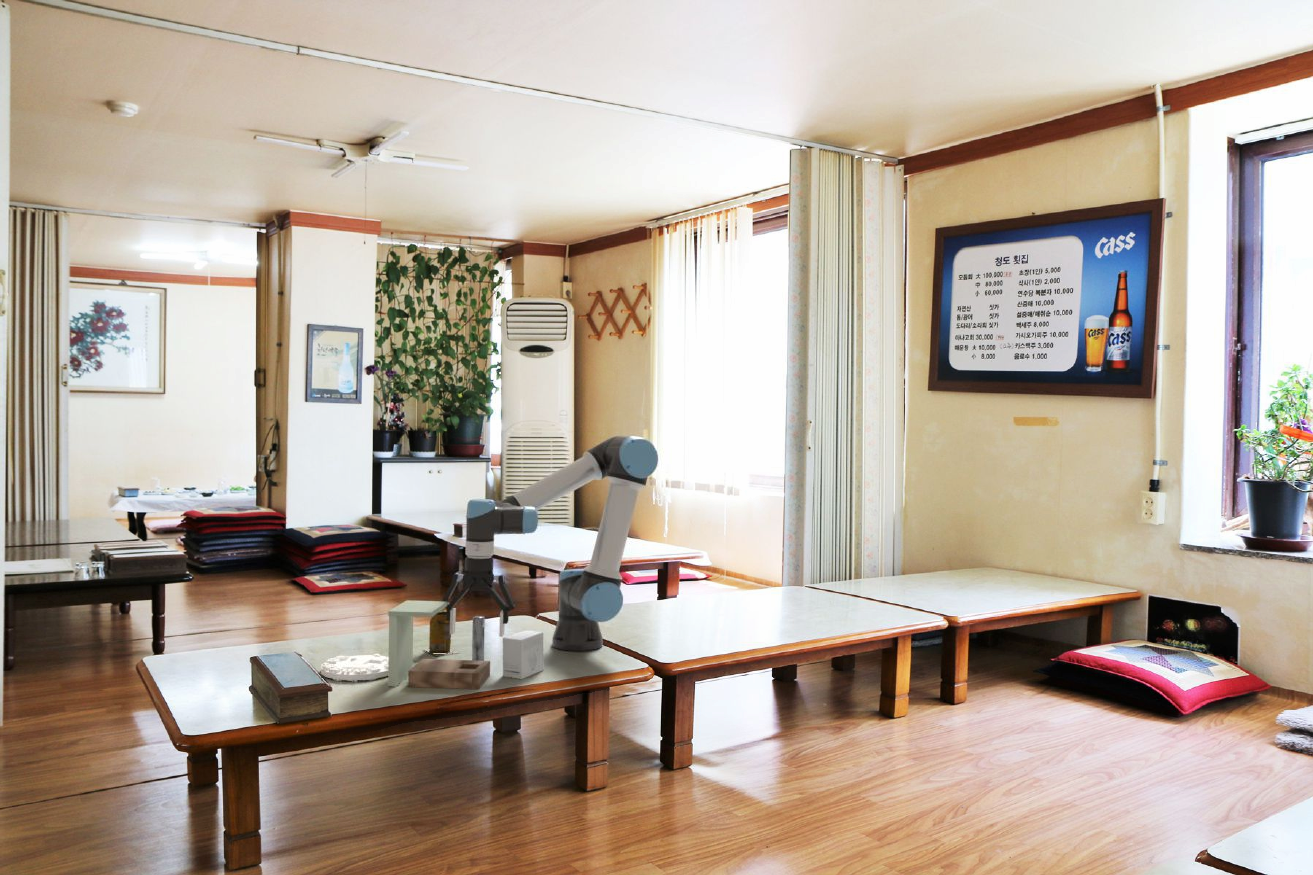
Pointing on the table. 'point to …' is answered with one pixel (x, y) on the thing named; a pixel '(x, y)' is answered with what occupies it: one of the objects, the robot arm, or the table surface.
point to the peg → (478, 638)
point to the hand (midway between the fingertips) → (477, 634)
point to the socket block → (449, 673)
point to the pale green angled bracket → (405, 635)
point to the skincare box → (523, 654)
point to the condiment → (440, 634)
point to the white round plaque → (356, 667)
